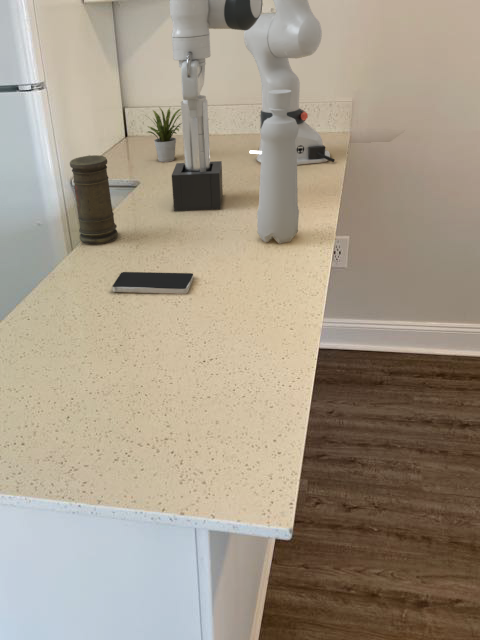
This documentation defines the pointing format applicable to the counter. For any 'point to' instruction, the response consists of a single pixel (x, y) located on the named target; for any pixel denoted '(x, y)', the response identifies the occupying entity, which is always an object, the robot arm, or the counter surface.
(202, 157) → the silver tall cylinder
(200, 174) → the box
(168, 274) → the smartphone
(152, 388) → the counter surface
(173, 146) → the house plant
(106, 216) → the container
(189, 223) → the counter surface
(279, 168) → the bottle
